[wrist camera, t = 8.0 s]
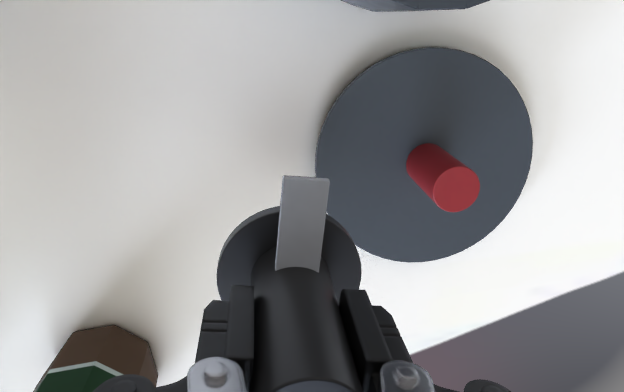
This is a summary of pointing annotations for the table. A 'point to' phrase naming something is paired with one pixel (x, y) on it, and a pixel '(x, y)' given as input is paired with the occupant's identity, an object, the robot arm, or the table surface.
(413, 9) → the bowl
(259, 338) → the blade
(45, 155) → the table surface
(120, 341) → the beer bottle
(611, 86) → the table surface
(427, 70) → the lid
